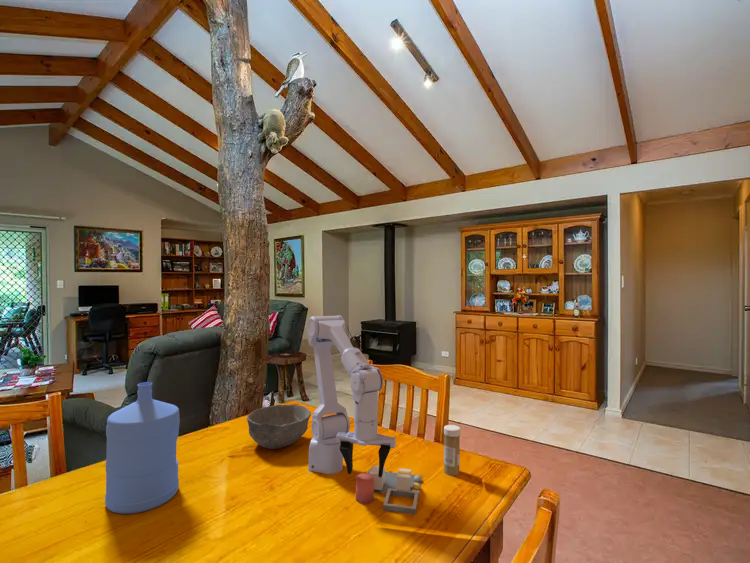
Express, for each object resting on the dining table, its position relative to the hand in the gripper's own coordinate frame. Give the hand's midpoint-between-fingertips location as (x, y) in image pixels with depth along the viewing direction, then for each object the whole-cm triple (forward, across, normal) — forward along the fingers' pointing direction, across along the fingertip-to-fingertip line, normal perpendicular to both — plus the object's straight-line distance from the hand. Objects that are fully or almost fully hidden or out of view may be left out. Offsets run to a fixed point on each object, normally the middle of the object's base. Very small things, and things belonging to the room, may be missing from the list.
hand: (365, 473), depth 96 cm
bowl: (+7, -35, +28) cm, 45 cm away
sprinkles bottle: (+7, +21, +19) cm, 29 cm away
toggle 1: (+6, +2, +6) cm, 9 cm away
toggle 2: (+6, +9, +6) cm, 12 cm away
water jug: (+7, -54, -9) cm, 55 cm away
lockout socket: (+7, +9, 0) cm, 11 cm away
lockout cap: (+7, 0, 0) cm, 7 cm away
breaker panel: (+7, +5, +9) cm, 13 cm away
